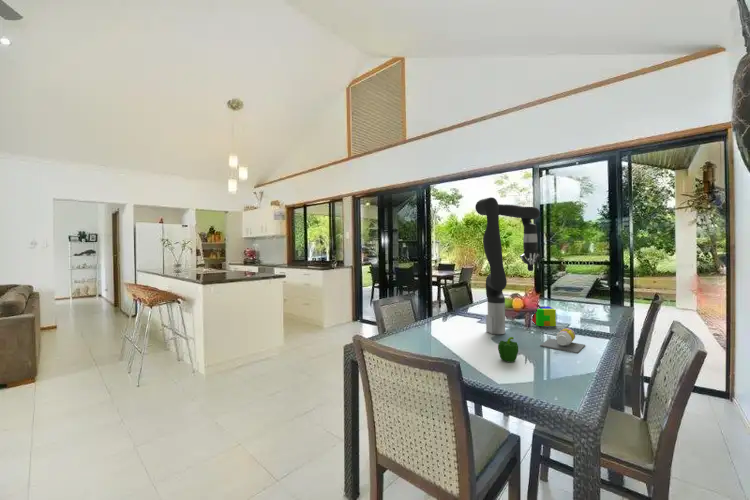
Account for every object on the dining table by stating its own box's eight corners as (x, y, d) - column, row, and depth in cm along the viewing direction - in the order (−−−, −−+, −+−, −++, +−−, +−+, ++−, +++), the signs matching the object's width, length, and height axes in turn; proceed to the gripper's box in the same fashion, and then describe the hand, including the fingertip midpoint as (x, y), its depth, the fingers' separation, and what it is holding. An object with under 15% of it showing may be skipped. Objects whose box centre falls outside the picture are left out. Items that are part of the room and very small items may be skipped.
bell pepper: (502, 364, 142) (502, 340, 142) (495, 357, 151) (495, 335, 150) (522, 363, 143) (522, 340, 142) (514, 356, 151) (513, 334, 150)
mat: (549, 339, 174) (549, 338, 174) (585, 345, 163) (585, 344, 163) (540, 346, 164) (540, 345, 164) (577, 353, 153) (577, 352, 153)
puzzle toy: (548, 322, 208) (548, 306, 208) (555, 326, 198) (555, 309, 198) (532, 322, 209) (531, 306, 209) (538, 326, 199) (538, 309, 199)
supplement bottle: (572, 326, 168) (566, 332, 158) (577, 339, 167) (572, 346, 157) (558, 329, 172) (551, 335, 162) (563, 342, 171) (557, 348, 161)
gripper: (524, 242, 193) (524, 272, 194) (544, 241, 196) (544, 271, 196) (516, 241, 201) (516, 270, 201) (536, 241, 203) (536, 269, 204)
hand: (530, 270), depth 199 cm, fingers closed
